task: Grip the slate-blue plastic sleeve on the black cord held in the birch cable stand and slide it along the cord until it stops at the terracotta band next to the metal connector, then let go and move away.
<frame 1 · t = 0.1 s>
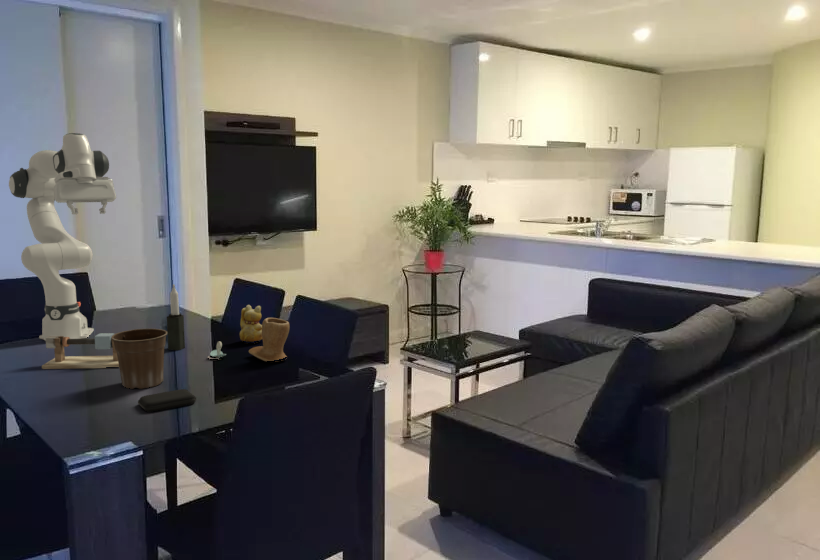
hand: (89, 213, 235), 52 cm above the table, tool tilted 20°, fingers open, 8 cm apart
cord stand: (88, 363, 231), on the table
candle: (176, 349, 253), on the table
pacifier: (216, 359, 240), on the table
plant pot: (142, 384, 209), on the table
carrying case or bag: (167, 405, 190), on the table
marker sleeve: (104, 341, 231), point 8 cm above the table, slide at 9.5 cm
brown clay boot vase: (271, 359, 240), on the table
decorative figurine: (251, 343, 263), on the table
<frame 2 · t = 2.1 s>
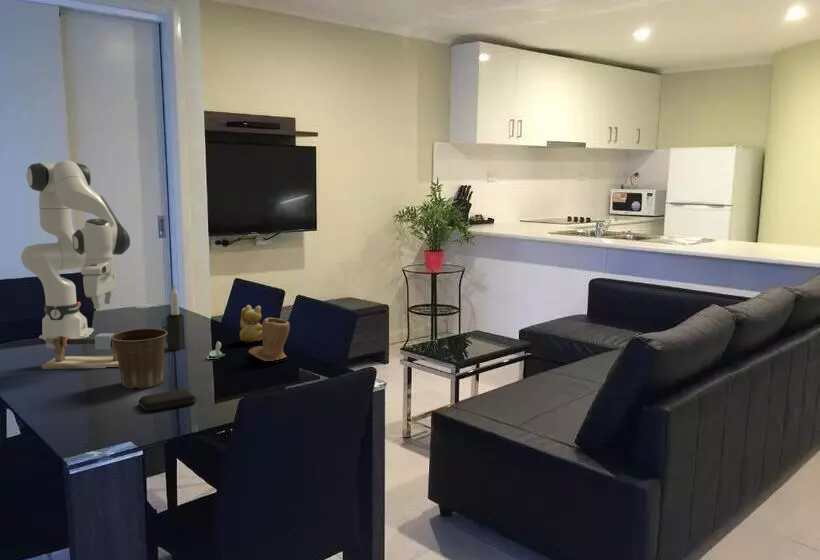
hand: (102, 306, 229), 21 cm above the table, tool pointing down, fingers open, 8 cm apart
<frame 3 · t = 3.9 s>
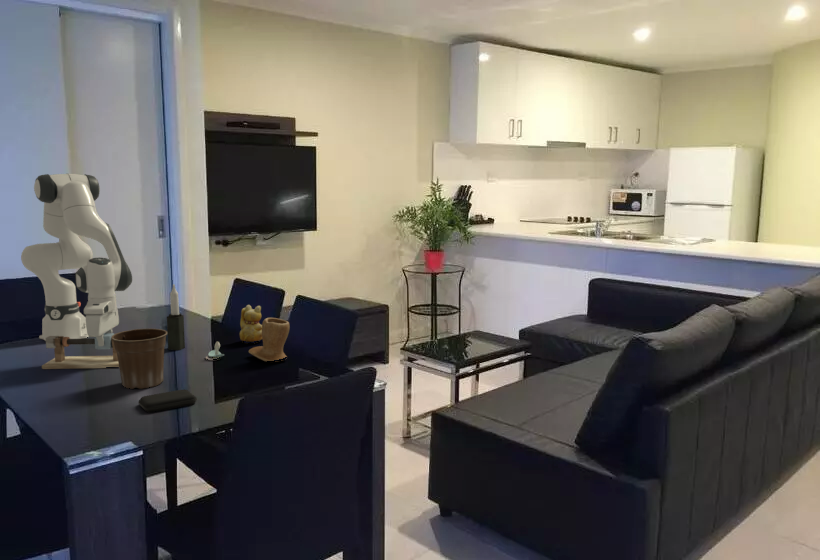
hand: (105, 343, 231), 7 cm above the table, tool pointing down, fingers closed on marker sleeve, 5 cm apart
marker sleeve: (104, 341, 231), point 8 cm above the table, slide at 9.5 cm, touching gripper
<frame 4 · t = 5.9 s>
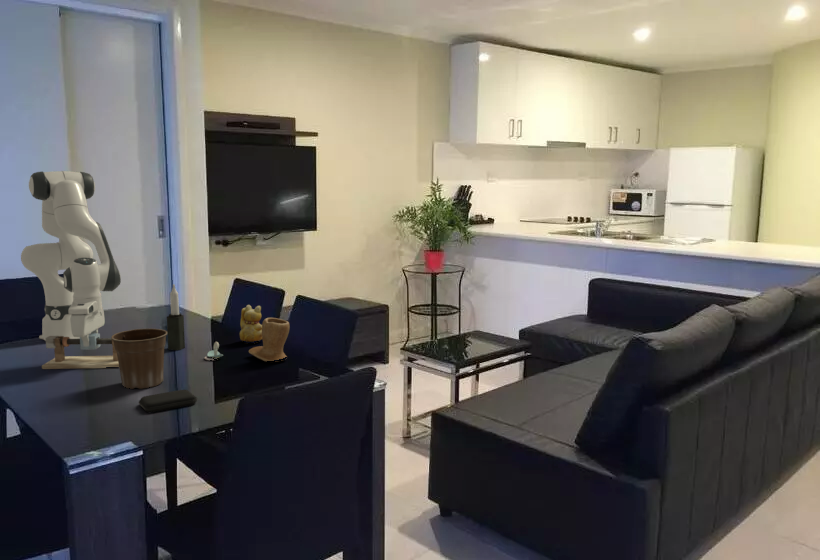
hand: (90, 343, 230), 7 cm above the table, tool pointing down, fingers closed on marker sleeve, 5 cm apart
marker sleeve: (90, 341, 230), point 8 cm above the table, slide at 4.6 cm, touching gripper
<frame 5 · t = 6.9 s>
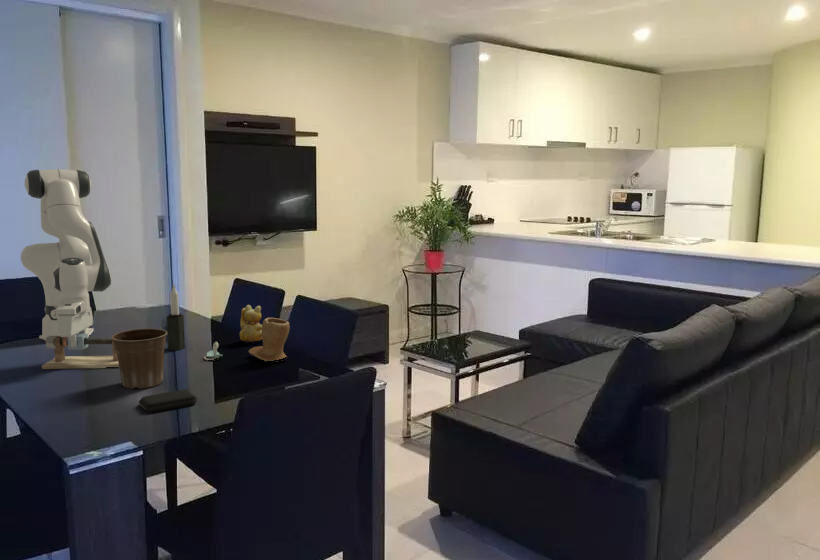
hand: (78, 344, 230), 7 cm above the table, tool pointing down, fingers closed on marker sleeve, 5 cm apart
marker sleeve: (78, 341, 230), point 8 cm above the table, slide at 0.4 cm, touching gripper
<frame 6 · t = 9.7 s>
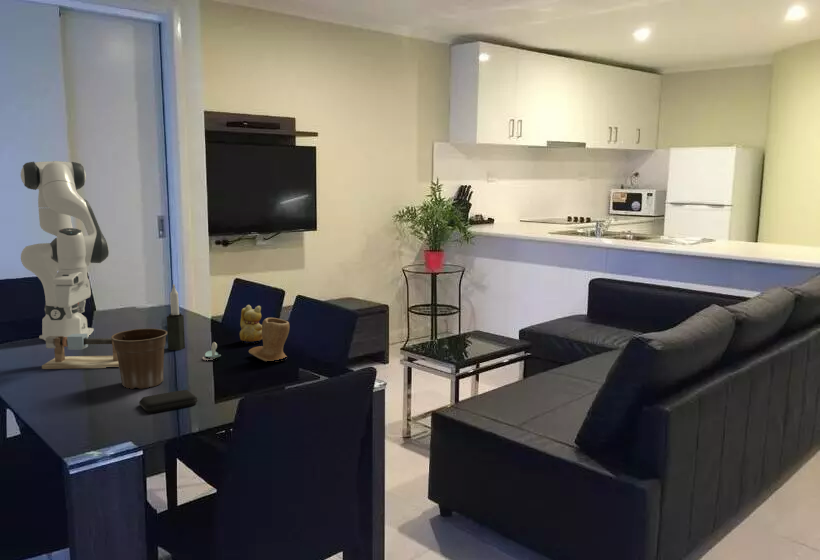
hand: (75, 315, 229), 17 cm above the table, tool pointing down, fingers open, 8 cm apart
marker sleeve: (77, 341, 230), point 8 cm above the table, slide at 0.3 cm
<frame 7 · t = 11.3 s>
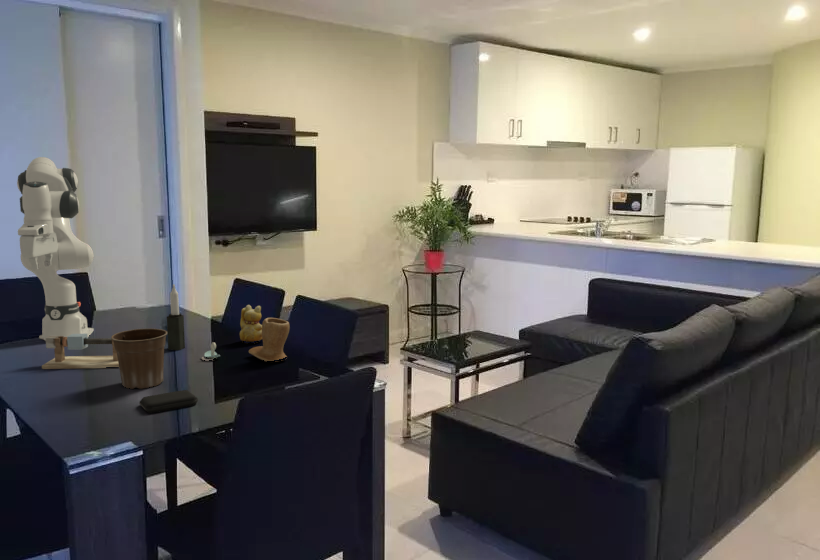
hand: (41, 267, 233), 33 cm above the table, tool pointing down, fingers open, 8 cm apart
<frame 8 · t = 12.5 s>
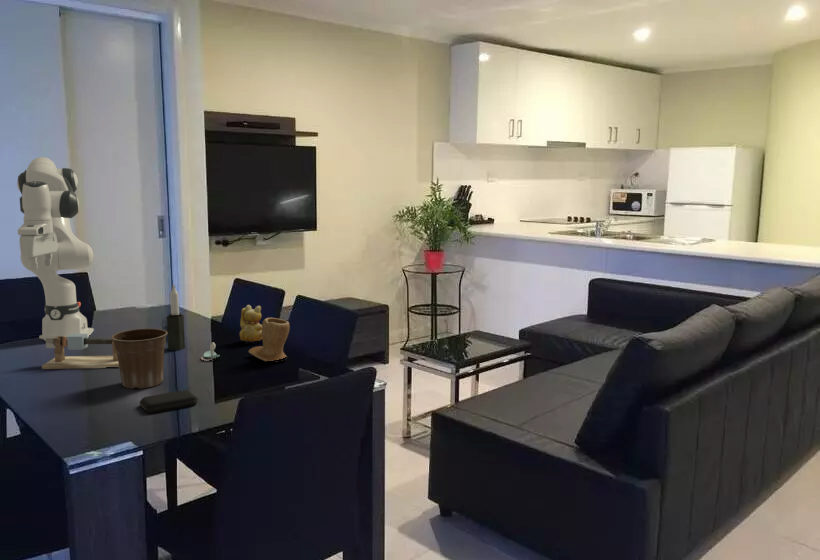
hand: (41, 267, 233), 33 cm above the table, tool pointing down, fingers open, 8 cm apart
at the end: marker sleeve slide at 0.3 cm; the gripper is holding nothing; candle moved 0.2 cm from its start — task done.
